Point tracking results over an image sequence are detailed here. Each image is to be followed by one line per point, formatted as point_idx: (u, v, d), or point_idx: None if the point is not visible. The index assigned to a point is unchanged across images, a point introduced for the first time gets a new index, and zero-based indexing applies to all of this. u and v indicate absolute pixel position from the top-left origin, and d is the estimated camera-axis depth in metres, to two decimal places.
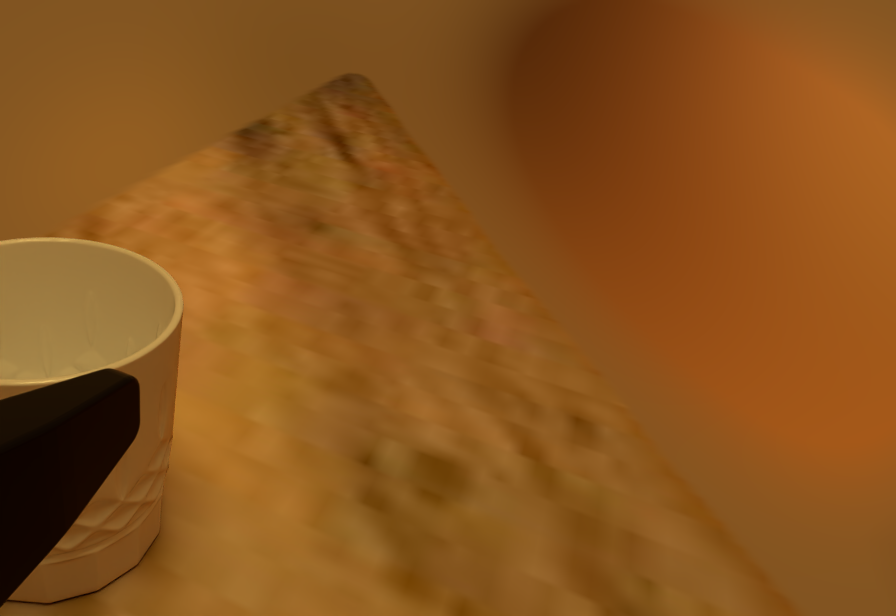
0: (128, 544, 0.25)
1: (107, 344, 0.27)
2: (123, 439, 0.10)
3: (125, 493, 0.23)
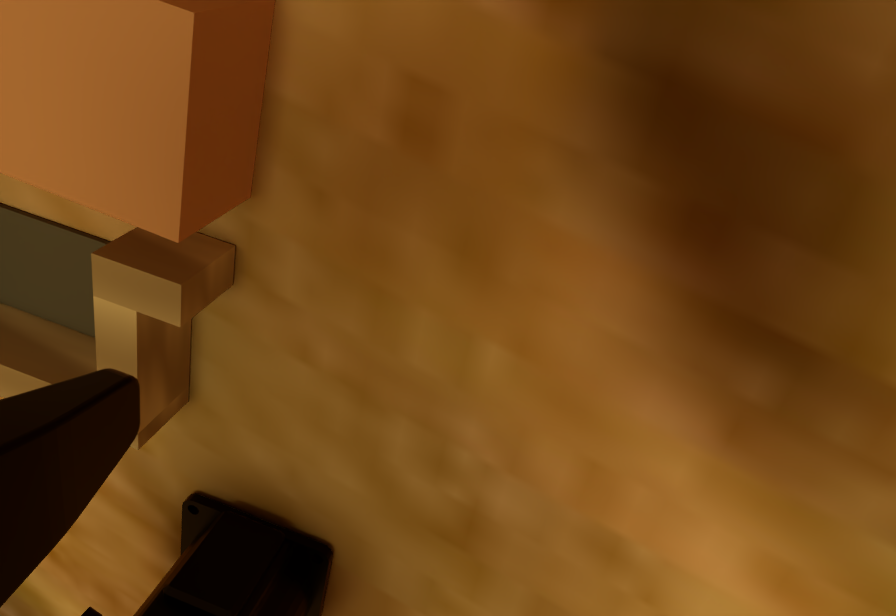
0: None
1: None
2: (123, 439, 0.10)
3: None
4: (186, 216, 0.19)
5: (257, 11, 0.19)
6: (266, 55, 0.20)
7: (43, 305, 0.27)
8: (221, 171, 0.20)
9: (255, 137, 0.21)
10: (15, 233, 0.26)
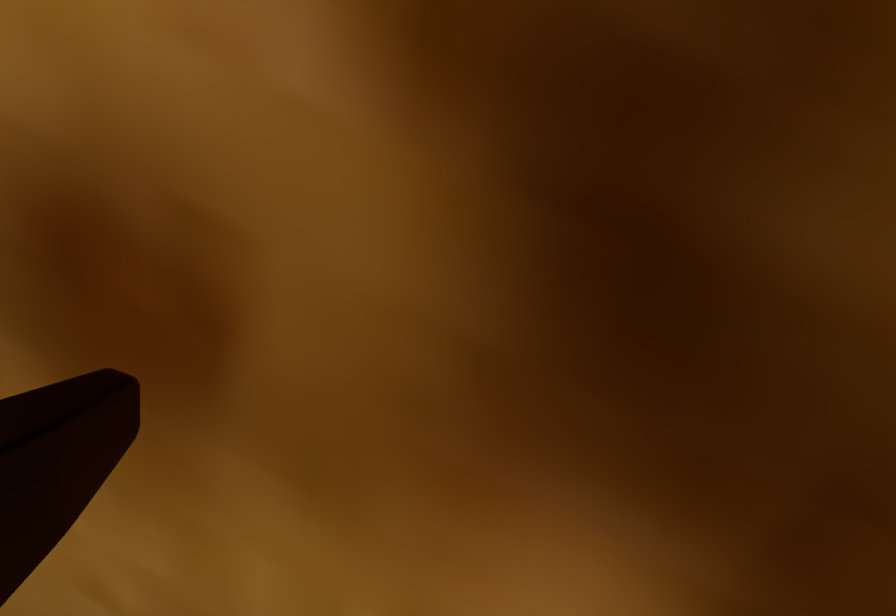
0: None
1: None
2: (123, 439, 0.10)
3: None
4: None
5: None
6: None
7: None
8: None
9: None
10: None
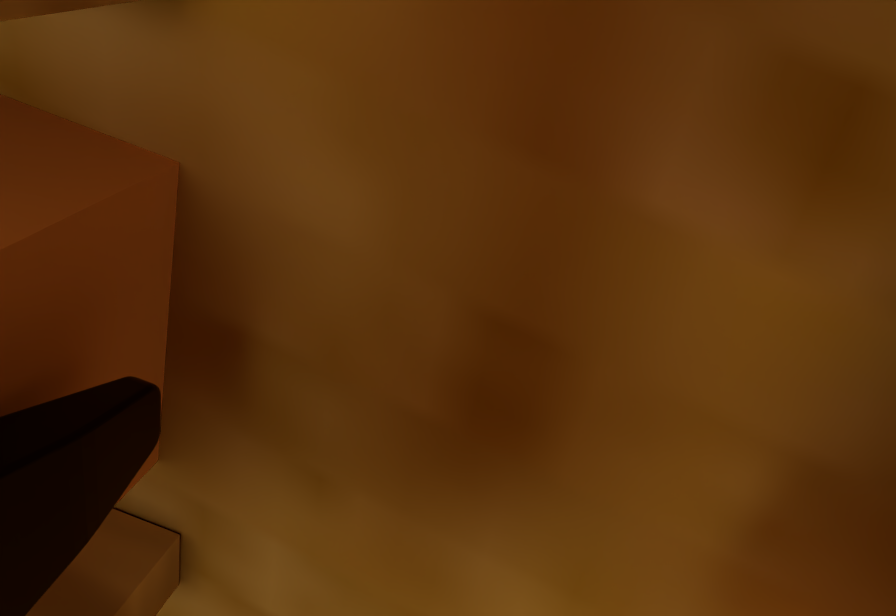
0: None
1: None
2: (144, 447, 0.10)
3: None
4: None
5: (131, 204, 0.10)
6: (162, 262, 0.11)
7: None
8: None
9: None
10: None
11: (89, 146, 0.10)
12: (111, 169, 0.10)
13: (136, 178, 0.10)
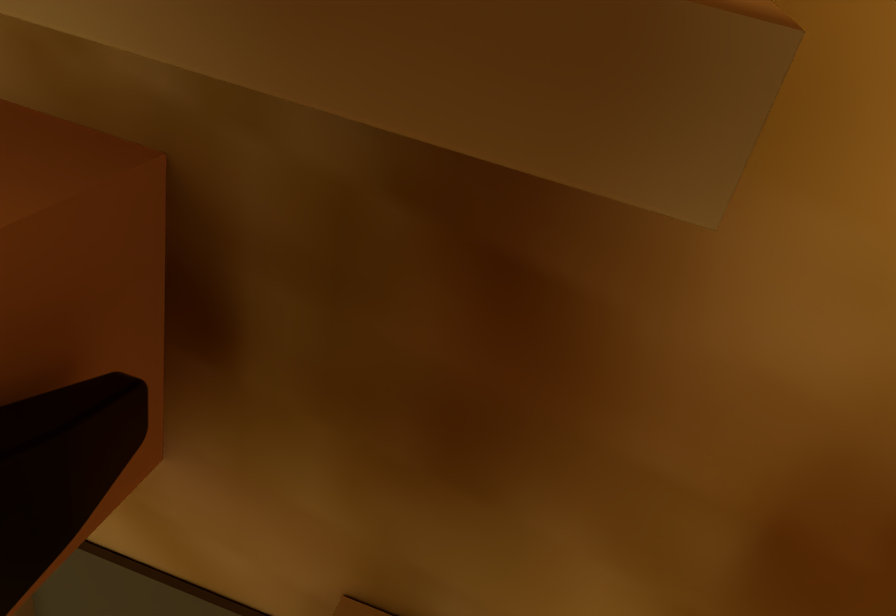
0: None
1: None
2: (131, 442, 0.10)
3: None
4: None
5: (128, 189, 0.10)
6: (163, 249, 0.11)
7: None
8: None
9: (159, 376, 0.12)
10: (90, 579, 0.15)
11: (87, 136, 0.10)
12: (108, 156, 0.10)
13: (131, 164, 0.10)
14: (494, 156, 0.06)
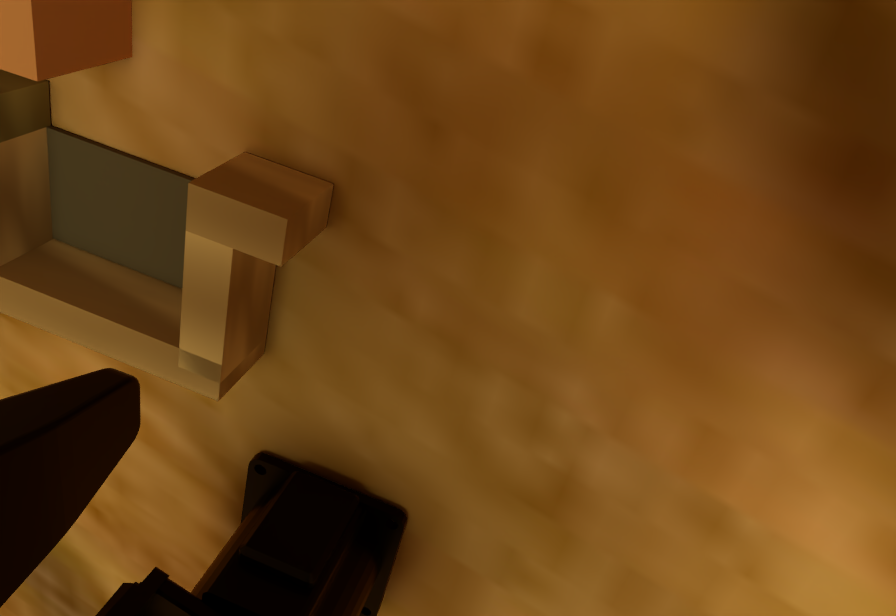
0: None
1: None
2: (123, 439, 0.10)
3: None
4: (43, 52, 0.19)
5: None
6: None
7: (113, 247, 0.25)
8: (85, 13, 0.20)
9: None
10: (89, 167, 0.24)
11: None
12: None
13: None
14: None
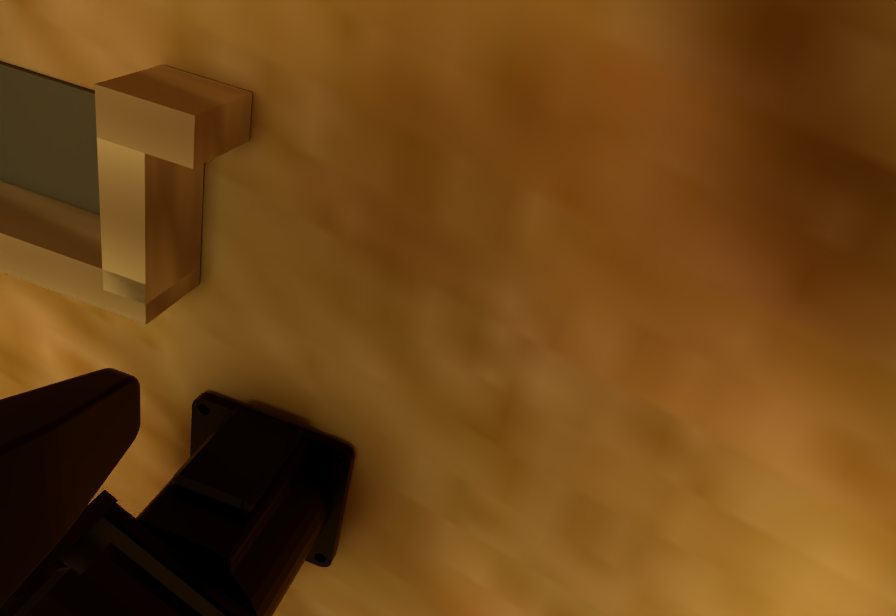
0: None
1: None
2: (123, 439, 0.10)
3: None
4: None
5: None
6: None
7: (42, 178, 0.25)
8: None
9: None
10: (11, 93, 0.24)
11: None
12: None
13: None
14: None
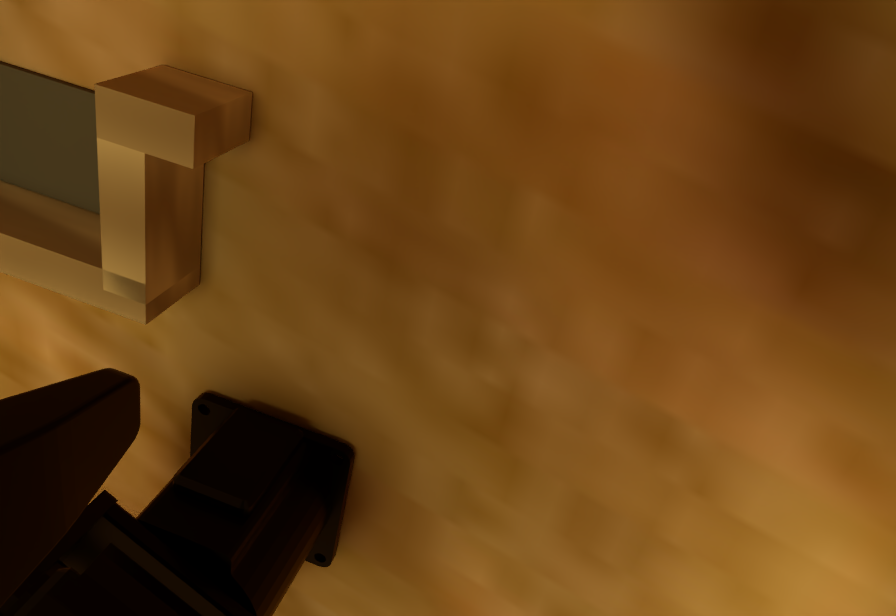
0: None
1: None
2: (123, 439, 0.10)
3: None
4: None
5: None
6: None
7: (42, 178, 0.25)
8: None
9: None
10: (11, 93, 0.24)
11: None
12: None
13: None
14: None
